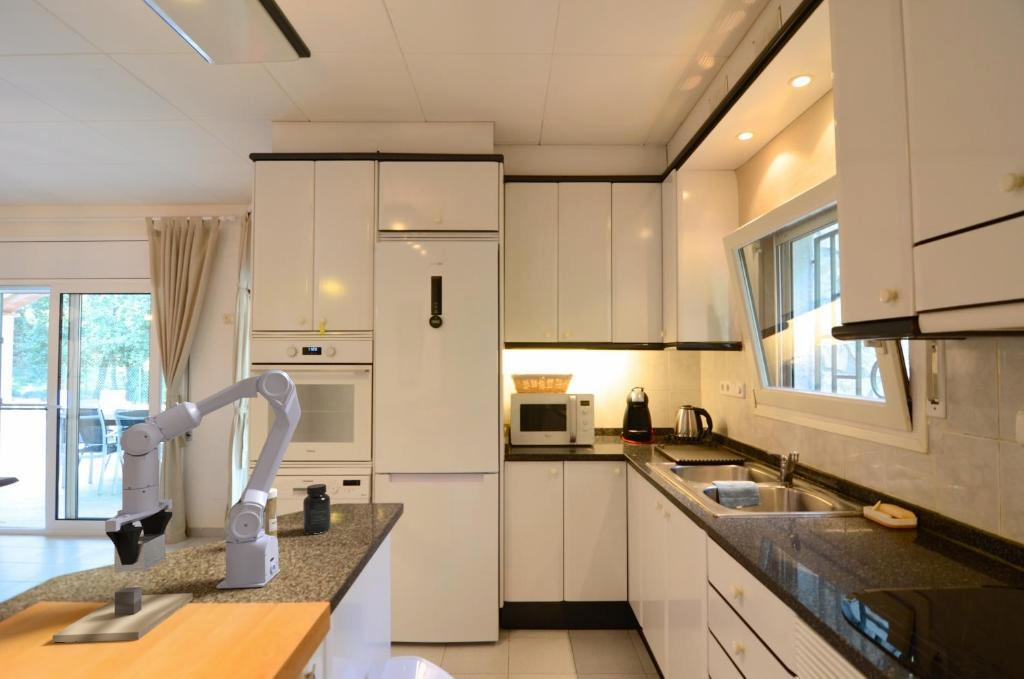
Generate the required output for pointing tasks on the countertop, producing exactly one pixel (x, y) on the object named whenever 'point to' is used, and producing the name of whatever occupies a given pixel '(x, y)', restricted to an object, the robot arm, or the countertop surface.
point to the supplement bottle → (316, 510)
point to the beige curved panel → (124, 617)
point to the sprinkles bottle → (270, 514)
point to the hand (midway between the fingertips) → (140, 557)
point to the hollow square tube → (144, 553)
